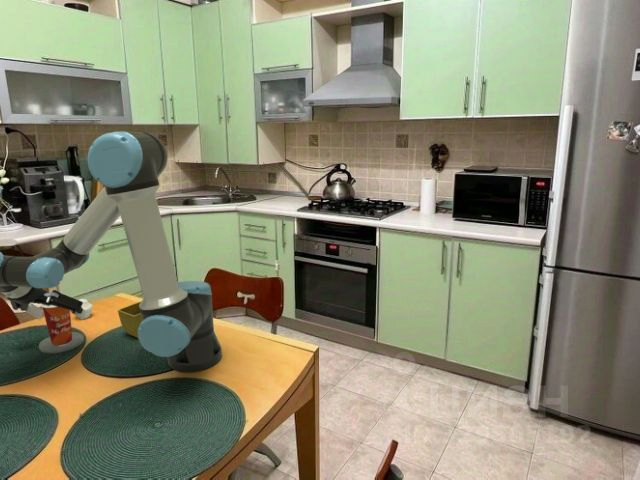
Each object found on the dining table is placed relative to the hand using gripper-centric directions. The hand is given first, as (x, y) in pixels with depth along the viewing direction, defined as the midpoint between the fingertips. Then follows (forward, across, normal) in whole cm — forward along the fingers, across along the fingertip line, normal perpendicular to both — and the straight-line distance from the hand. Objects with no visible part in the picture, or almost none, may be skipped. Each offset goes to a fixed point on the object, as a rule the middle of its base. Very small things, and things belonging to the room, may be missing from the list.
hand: (62, 315), depth 138 cm
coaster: (+4, 0, -8) cm, 9 cm away
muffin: (+19, -4, +6) cm, 20 cm away
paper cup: (+4, 0, -7) cm, 8 cm away
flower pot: (+10, +22, -2) cm, 24 cm away
